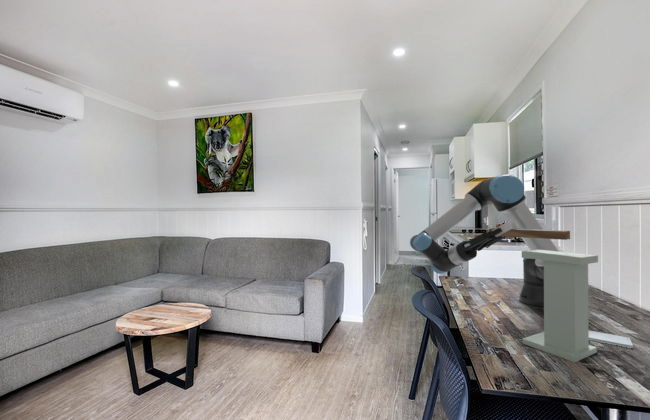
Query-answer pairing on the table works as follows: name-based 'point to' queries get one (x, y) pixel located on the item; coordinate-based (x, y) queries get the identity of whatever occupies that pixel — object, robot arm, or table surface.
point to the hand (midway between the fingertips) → (513, 225)
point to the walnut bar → (537, 234)
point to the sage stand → (564, 304)
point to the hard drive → (610, 339)
